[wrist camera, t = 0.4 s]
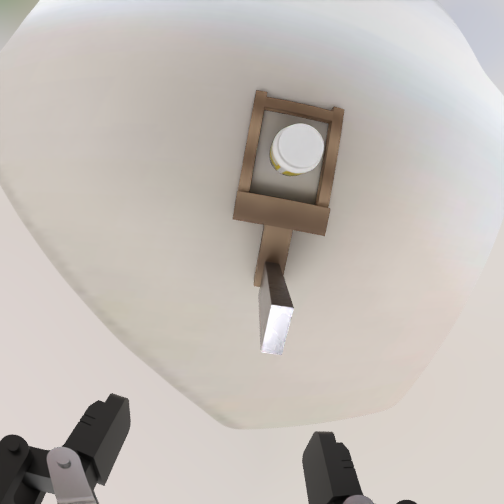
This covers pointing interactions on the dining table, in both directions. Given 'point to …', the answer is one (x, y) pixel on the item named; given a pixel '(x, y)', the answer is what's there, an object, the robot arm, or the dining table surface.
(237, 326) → the dining table surface
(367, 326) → the dining table surface
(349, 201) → the dining table surface
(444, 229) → the dining table surface
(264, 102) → the strip frame
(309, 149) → the supplement bottle
